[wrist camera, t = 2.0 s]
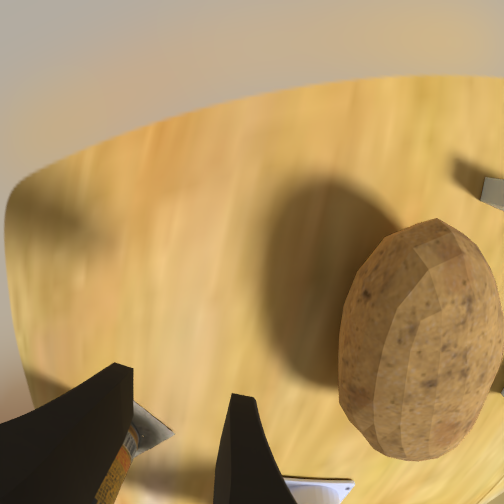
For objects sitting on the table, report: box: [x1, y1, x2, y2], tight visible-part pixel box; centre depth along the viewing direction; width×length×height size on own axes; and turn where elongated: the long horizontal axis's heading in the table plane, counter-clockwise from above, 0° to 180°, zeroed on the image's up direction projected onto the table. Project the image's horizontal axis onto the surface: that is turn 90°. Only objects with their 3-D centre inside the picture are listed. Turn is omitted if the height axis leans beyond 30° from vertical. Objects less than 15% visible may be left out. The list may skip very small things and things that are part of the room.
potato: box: [338, 218, 504, 461], centre depth 15 cm, size 10×14×8 cm
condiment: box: [92, 400, 175, 504], centre depth 17 cm, size 7×8×12 cm
